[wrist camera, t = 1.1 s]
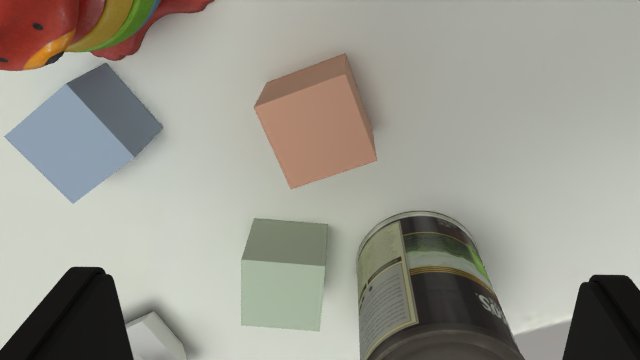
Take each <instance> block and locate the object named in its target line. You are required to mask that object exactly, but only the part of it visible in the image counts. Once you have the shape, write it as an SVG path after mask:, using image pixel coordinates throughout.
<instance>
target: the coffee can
mask: <svg viewBox="0 0 640 360" xmlns="http://www.w3.org/2000/svg"><path fill="white" fill-rule="evenodd" d="M356 271H357V278H358V307H359V338H360V360H525V359H524V358H523V356H522V355H521V353H520V352H519V349H518V347H517V344H516V342H515V339H514V337H513V335H512V332H511V330H510V327H509V325H508V323H507V321H506V318H505V316H504V313H503V311H502V309H501V307H500V304H499V301H498V299H497V297H496V295H495V292H494V290H493V288H492V285H491V283H490V280H489V278H488V275H487V273H486V271H485V268H484V266H483V263H482V261H481V259H480V256H479V254H478V249H477V246H476V244H475V242H474V240H473V238H472V237H471V235H470V234H469V232H468V231H467V230H466V229H465V228H464V227H463V226H461V225H460V224H459V223H458V222H456V221H454V220H453V219H451V218H449V217H447V216H444V215H441V214H437V213H433V212H424V211H416V212H407V213H403V214H399V215H396V216H393V217H391V218H389V219H387V220H385V221H383V222H381V223H380V224H379V225H377V226H376V227H375V228H374V229H373V230H371V231H370V233H369V234H368V235H367V236H366V237H365V239H364V240H363V242H362V243H361V245H360V248H359V251H358V254H357V259H356Z"/></svg>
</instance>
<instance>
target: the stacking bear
mask: <svg viewBox="0 0 640 360" xmlns="http://www.w3.org/2000/svg"><path fill="white" fill-rule="evenodd" d="M213 1H214V0H0V70H8V71H21V70H30V69H37V68H41V67H43V66H46V65H48V64H52V63H54V62H56V61H57V60H58V59H59V58H60V57H61V56H62V55H63V54H64V52H89V51H90V52H91V53H92V54H93V55H95V56H97V57H104V58H106V59H109V60H112V61H117V60H121V59H123V58H124V57H125V56H126V55H132V54H134V53H135V52H136V51H137V50H138V48H139V47H140V44H141V42H142V39H143V37H144V35H145V33H146V31H147V30H148V28H149V27H150V26H151V25H152V23H154V22H155V21H156V20H158V19H159V18H161V17H163V16H165V15H168V14H171V13H195V12H199V11H202V10H203V9H204V8H205V6H206V4H207V3H210V2H213Z"/></svg>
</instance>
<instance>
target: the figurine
mask: <svg viewBox="0 0 640 360" xmlns="http://www.w3.org/2000/svg"><path fill="white" fill-rule="evenodd" d="M125 327H126V331H127V334H128V338H129V342H130V346H131V350H132V354H133V358H134V360H187V357H186V354H185V351H184V348H183V345H182V343H181V342H180V341H179V339H178V338H177V337H176V336H175V335H174V334H173V332H172V331H171V330H170V329H169V328H168V327H167V325H166V324H165V323H164V322H163V321H162V320H161V318H160V317H159V316H158V315H157V314H156V313H155V311H152V312H150V313H148V314H146V315H144V316H142V317H139V318H137V319H135V320H133V321H131V322H129V323H127V324H125Z"/></svg>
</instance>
